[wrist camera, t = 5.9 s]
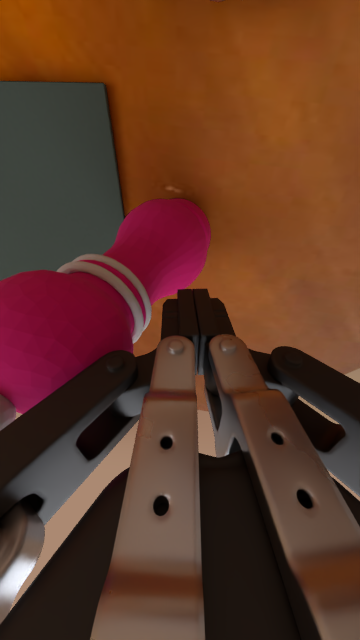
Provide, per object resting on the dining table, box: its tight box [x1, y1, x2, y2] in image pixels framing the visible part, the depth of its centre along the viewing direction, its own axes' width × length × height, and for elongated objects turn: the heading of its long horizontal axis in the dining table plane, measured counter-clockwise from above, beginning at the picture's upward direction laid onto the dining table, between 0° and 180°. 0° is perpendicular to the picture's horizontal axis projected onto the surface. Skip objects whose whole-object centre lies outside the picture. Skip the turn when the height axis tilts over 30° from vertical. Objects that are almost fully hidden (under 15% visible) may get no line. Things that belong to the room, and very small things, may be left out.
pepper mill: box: [0, 198, 211, 431], centre depth 13 cm, size 7×7×20 cm
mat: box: [0, 81, 125, 281], centre depth 20 cm, size 20×20×1 cm
